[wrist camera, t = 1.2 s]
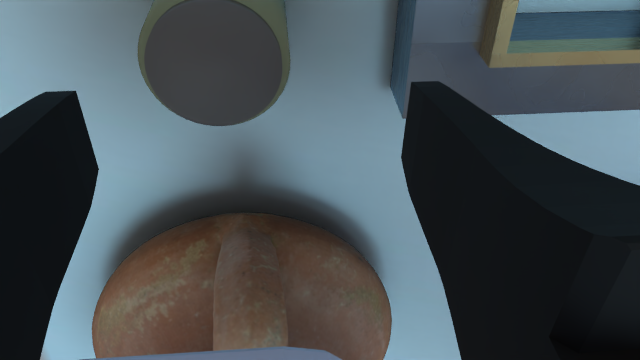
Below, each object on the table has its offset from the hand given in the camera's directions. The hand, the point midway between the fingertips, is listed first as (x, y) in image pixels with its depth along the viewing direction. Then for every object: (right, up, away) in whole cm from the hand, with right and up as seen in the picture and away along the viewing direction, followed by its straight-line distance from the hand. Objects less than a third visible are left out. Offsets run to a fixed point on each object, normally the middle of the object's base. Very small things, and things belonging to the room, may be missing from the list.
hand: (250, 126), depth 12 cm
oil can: (-2, +5, +8) cm, 10 cm away
